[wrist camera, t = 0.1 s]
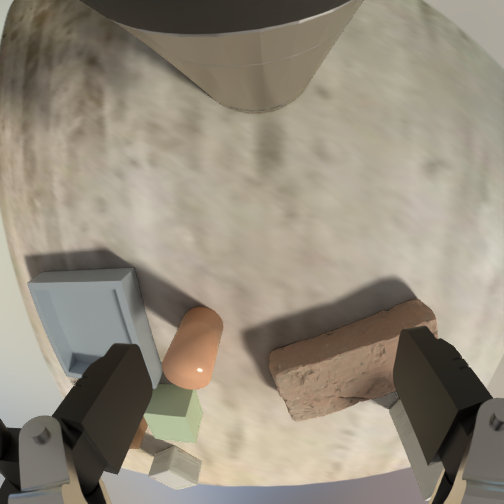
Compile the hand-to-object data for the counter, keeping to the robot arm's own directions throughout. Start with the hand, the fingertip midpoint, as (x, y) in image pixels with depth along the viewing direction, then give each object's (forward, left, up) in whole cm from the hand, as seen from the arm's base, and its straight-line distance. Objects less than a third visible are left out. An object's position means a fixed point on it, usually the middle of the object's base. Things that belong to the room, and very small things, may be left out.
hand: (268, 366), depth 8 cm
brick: (+15, +8, -18) cm, 24 cm away
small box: (+36, -16, -18) cm, 43 cm away
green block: (+21, -12, -17) cm, 30 cm away
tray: (+10, -19, -17) cm, 27 cm away
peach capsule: (+10, -7, -17) cm, 21 cm away
